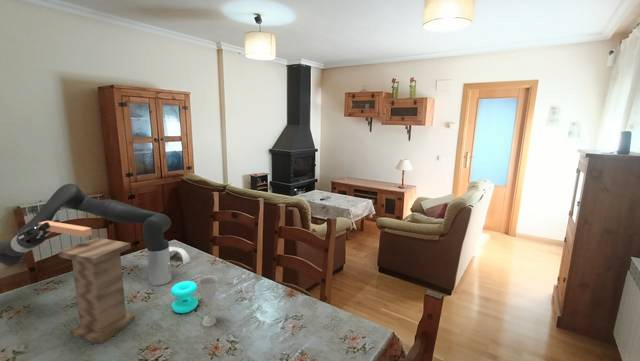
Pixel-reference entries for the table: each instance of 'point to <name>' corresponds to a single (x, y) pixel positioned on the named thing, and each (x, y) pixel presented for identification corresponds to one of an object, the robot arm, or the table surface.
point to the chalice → (208, 296)
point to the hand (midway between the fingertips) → (53, 223)
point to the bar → (68, 229)
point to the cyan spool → (184, 297)
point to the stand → (99, 288)
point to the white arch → (183, 253)
